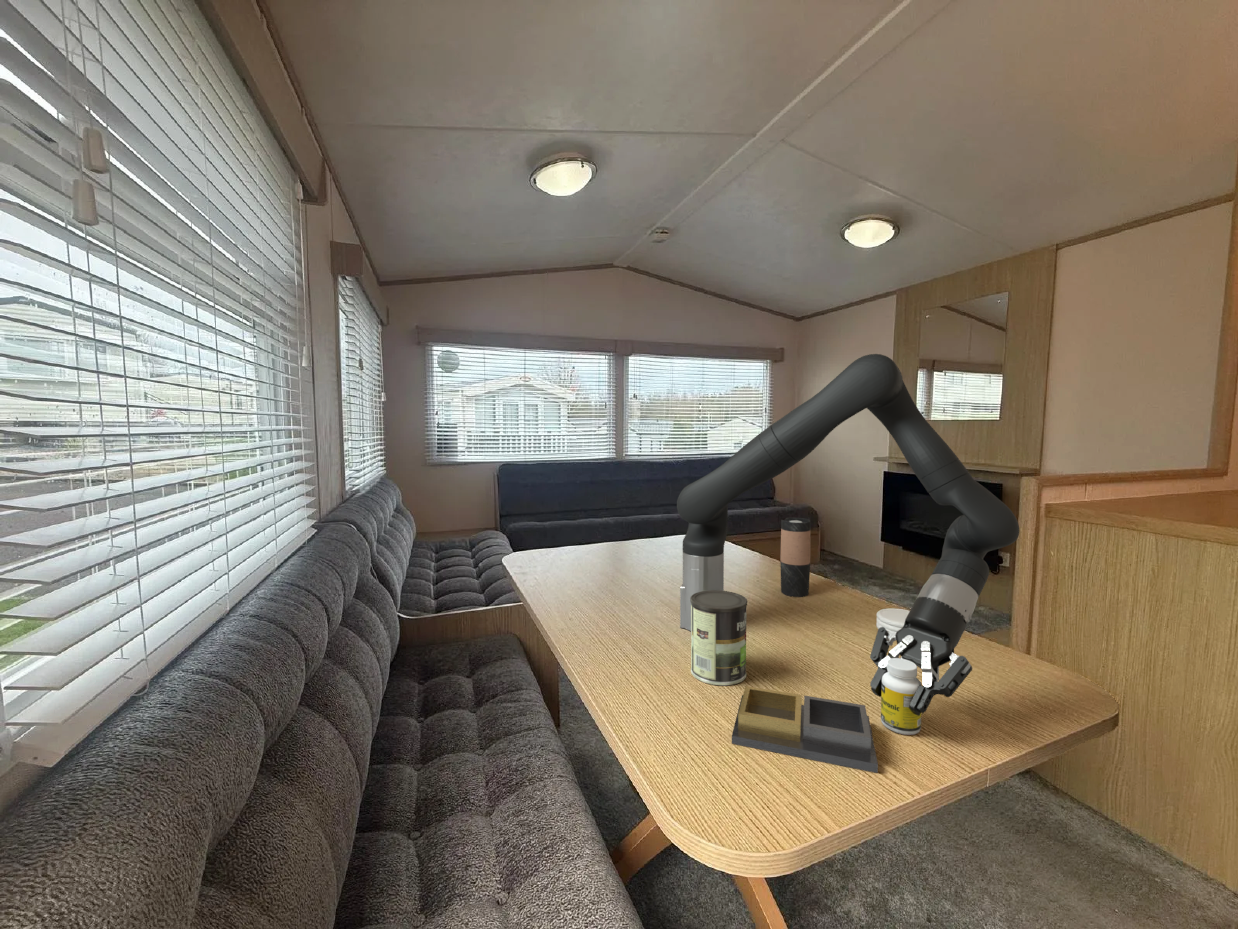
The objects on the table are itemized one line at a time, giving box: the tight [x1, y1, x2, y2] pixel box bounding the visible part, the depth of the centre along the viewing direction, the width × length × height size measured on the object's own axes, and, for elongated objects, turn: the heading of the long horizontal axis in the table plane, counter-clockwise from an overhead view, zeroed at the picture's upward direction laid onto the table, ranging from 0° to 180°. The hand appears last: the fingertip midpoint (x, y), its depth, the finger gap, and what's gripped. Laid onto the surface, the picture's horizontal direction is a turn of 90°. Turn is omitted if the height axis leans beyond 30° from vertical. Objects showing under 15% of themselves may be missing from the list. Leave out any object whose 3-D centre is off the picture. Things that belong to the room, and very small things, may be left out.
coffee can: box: [690, 590, 748, 686], centre depth 96 cm, size 10×10×14 cm
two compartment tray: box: [731, 685, 879, 774], centre depth 77 cm, size 19×12×4 cm, turn 70°
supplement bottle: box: [880, 657, 923, 736], centre depth 79 cm, size 5×5×10 cm
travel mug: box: [779, 517, 812, 598], centre depth 140 cm, size 8×8×20 cm
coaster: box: [875, 608, 910, 632], centre depth 115 cm, size 10×10×4 cm
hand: (894, 702), depth 78 cm, fingers closed on supplement bottle, 5 cm apart
